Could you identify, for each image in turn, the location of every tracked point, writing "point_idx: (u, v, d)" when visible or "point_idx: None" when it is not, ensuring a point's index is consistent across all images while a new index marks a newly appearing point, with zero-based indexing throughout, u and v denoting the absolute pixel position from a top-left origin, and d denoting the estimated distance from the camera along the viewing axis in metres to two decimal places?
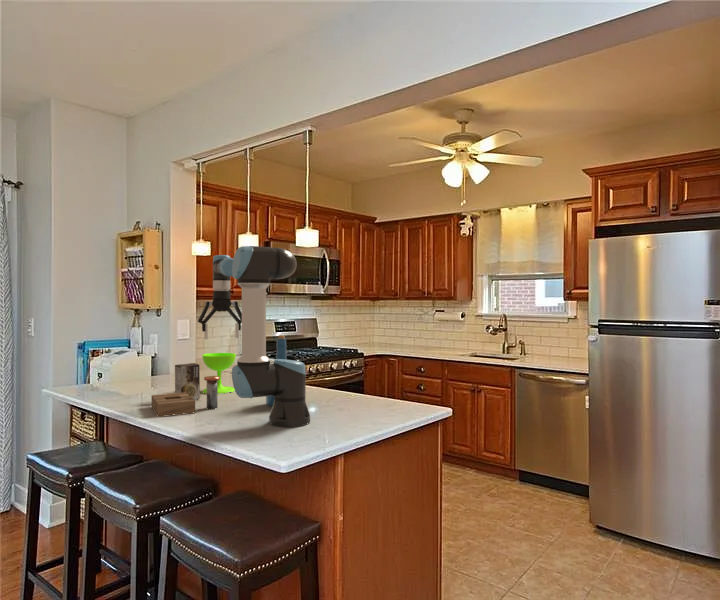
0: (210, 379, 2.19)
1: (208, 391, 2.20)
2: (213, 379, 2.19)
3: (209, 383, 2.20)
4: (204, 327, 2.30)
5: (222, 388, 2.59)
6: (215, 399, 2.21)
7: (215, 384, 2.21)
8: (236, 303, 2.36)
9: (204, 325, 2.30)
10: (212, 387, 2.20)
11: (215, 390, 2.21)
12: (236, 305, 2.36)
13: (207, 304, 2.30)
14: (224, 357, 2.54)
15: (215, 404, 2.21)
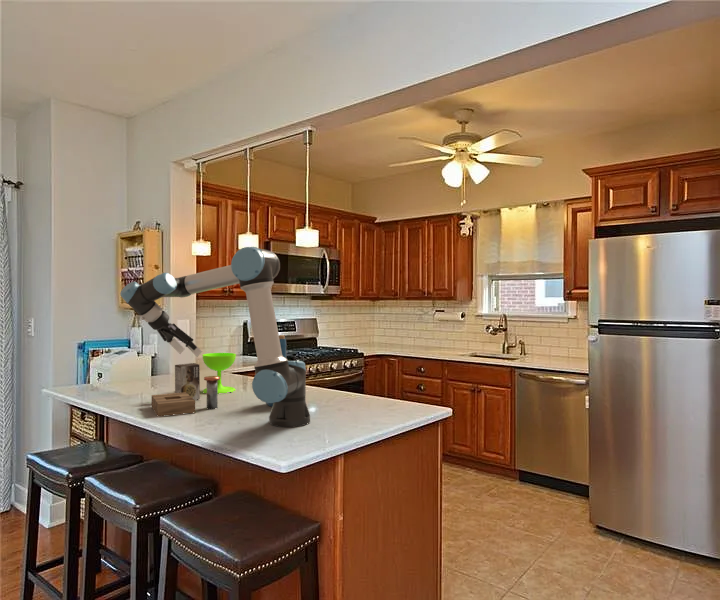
0: (210, 379, 2.19)
1: (208, 391, 2.20)
2: (213, 379, 2.19)
3: (209, 383, 2.20)
4: None
5: (222, 388, 2.59)
6: (215, 399, 2.21)
7: (215, 384, 2.21)
8: None
9: None
10: (212, 387, 2.20)
11: (215, 390, 2.21)
12: None
13: None
14: (224, 357, 2.54)
15: (215, 404, 2.21)
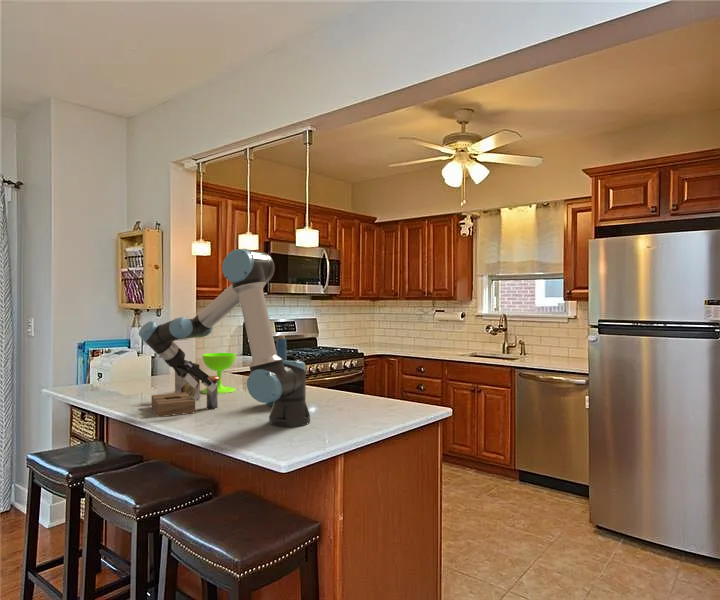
0: (210, 379, 2.19)
1: (208, 391, 2.20)
2: (213, 379, 2.19)
3: None
4: None
5: (222, 388, 2.59)
6: (215, 399, 2.21)
7: (215, 384, 2.21)
8: None
9: None
10: None
11: (215, 390, 2.21)
12: None
13: None
14: (224, 357, 2.54)
15: (215, 404, 2.21)
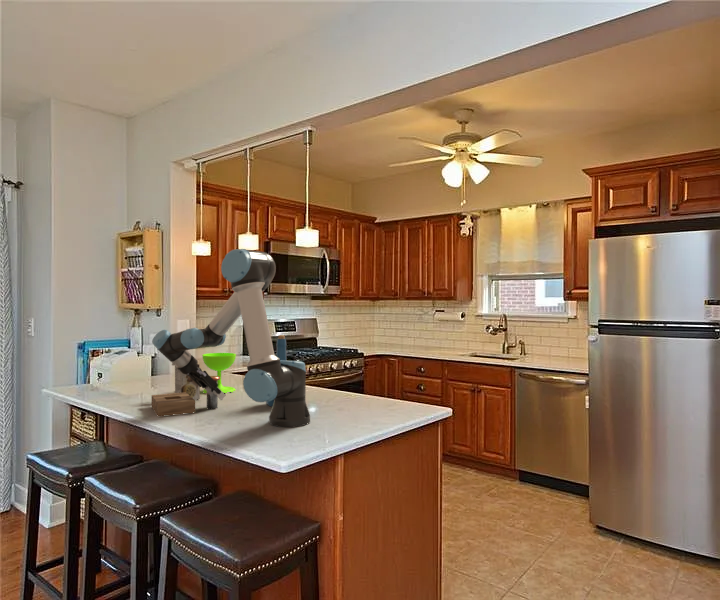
0: None
1: (208, 391, 2.20)
2: (213, 379, 2.19)
3: None
4: None
5: (222, 388, 2.59)
6: (215, 399, 2.21)
7: None
8: None
9: None
10: None
11: None
12: None
13: None
14: (224, 357, 2.54)
15: (215, 404, 2.21)
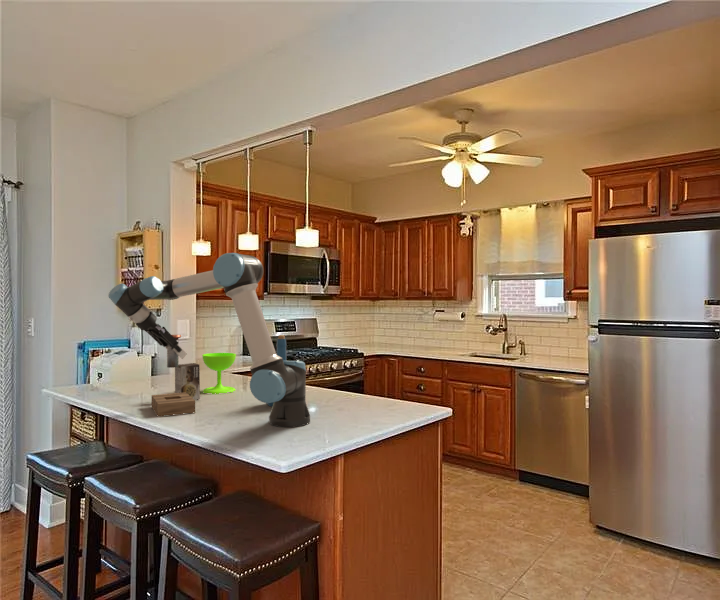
0: None
1: (168, 349, 2.16)
2: None
3: None
4: None
5: (222, 388, 2.59)
6: (176, 357, 2.17)
7: None
8: None
9: None
10: None
11: None
12: None
13: None
14: (224, 357, 2.54)
15: (176, 362, 2.17)
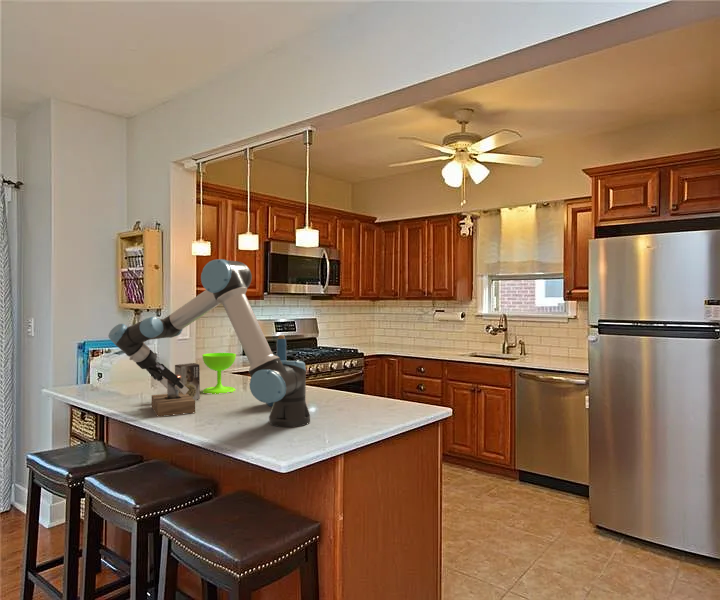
0: None
1: (169, 390, 2.16)
2: None
3: (170, 382, 2.16)
4: None
5: (222, 388, 2.59)
6: (176, 398, 2.17)
7: None
8: None
9: None
10: (173, 386, 2.16)
11: (176, 389, 2.17)
12: None
13: None
14: (224, 357, 2.54)
15: None
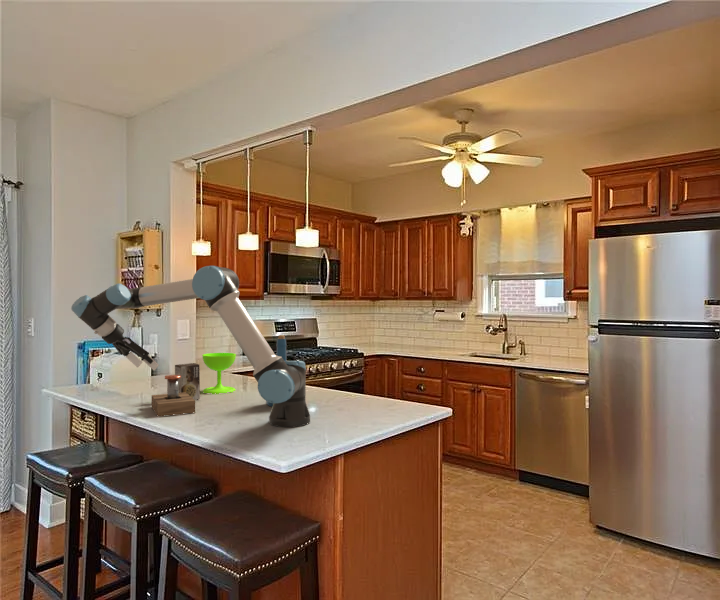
0: (170, 378, 2.15)
1: (168, 390, 2.16)
2: (173, 378, 2.15)
3: (170, 382, 2.16)
4: None
5: (222, 388, 2.59)
6: (176, 398, 2.17)
7: (176, 383, 2.17)
8: None
9: None
10: (173, 386, 2.16)
11: (176, 389, 2.17)
12: None
13: None
14: (224, 357, 2.54)
15: None
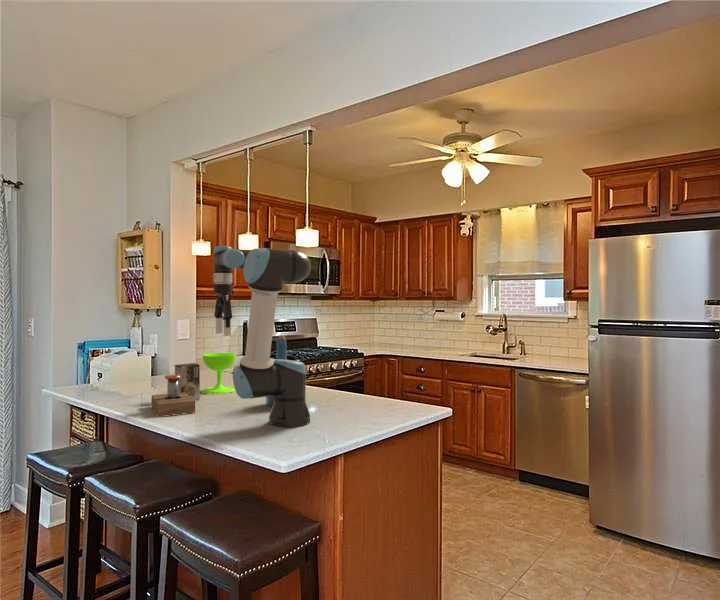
0: (171, 378, 2.15)
1: (169, 390, 2.16)
2: (174, 378, 2.15)
3: (170, 382, 2.16)
4: None
5: (222, 388, 2.59)
6: (176, 398, 2.17)
7: (176, 383, 2.17)
8: None
9: None
10: (173, 386, 2.16)
11: (176, 389, 2.17)
12: None
13: None
14: (224, 357, 2.54)
15: None
